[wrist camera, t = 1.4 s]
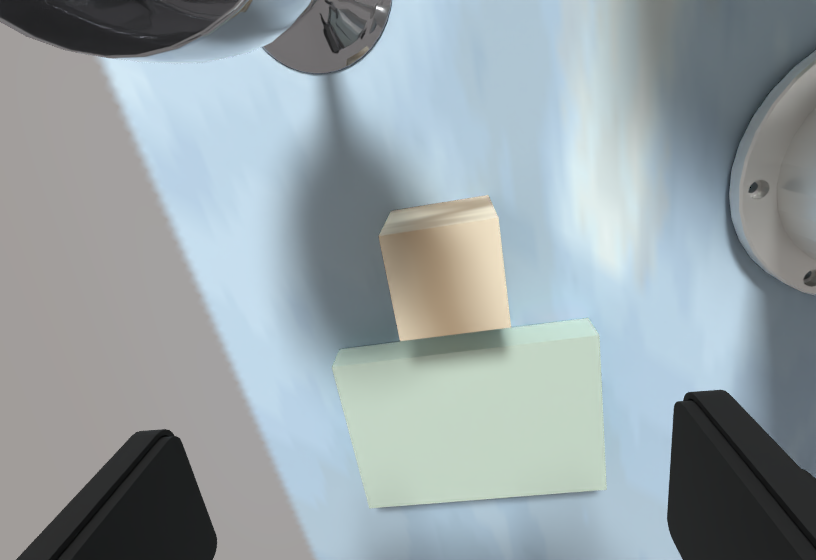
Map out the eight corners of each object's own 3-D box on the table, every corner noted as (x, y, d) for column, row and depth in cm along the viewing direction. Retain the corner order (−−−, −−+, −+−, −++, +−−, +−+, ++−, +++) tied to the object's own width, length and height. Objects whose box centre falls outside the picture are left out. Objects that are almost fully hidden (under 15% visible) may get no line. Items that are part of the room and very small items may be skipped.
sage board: (588, 317, 26) (599, 335, 24) (596, 464, 29) (606, 489, 27) (339, 349, 28) (331, 367, 26) (374, 483, 31) (369, 508, 29)
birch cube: (487, 194, 24) (498, 217, 19) (499, 286, 26) (510, 327, 21) (391, 210, 25) (378, 236, 20) (408, 298, 26) (399, 341, 22)
